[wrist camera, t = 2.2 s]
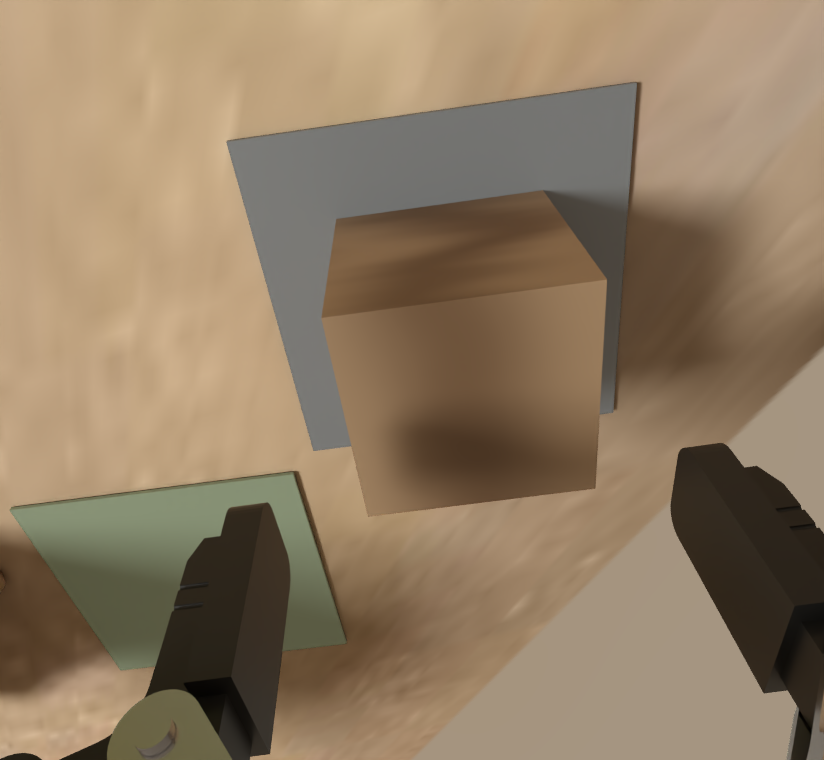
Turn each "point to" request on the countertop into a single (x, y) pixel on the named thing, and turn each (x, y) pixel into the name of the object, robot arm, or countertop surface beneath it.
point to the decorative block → (2, 582)
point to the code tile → (430, 203)
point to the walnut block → (466, 352)
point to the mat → (170, 559)
